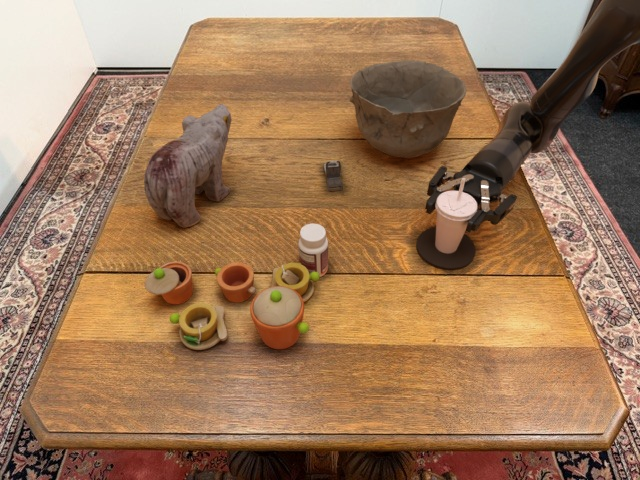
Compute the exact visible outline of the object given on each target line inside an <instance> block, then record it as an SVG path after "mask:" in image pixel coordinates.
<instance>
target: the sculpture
mask: <svg viewBox="0 0 640 480" xmlns="http://www.w3.org/2000/svg"><path fill="white" fill-rule="evenodd" d="M231 125H232V115H231V112H230V110H229V108H228V107H227V106H226V105H225V104H224V103H219V104H218V105H217V106H215V108H214V109H212V110H209V111H208V112H206V113H204V114H203V115H201V116H199V117H195V116H193V115H187V116H185V117H183V119H182V121H181V128H182V133H183V134H181V136H179V137H177V138H174V139H173V140H171V141H169V142H167V143H165V144H164V145H161V146H160V147H159V148H158V149H157V150H156V151H155V152H154V153H153V154H152V155H151V157H150V158H149V160H148V163H147V165H146V168H145V172H144V175H143V177H144V178H143V184H144V186H143V188H144V194H145V197H146V199H147V202H148V204H149V205H150V207H151V209H152V210H153V211H154V213H156V214H157V216H159V218H160V219H163V220H167V221H171V220H173V222H175V223H176V225H178V226H179V227H181V228H185V229H186V228H189V227H192V226H194V225H197V224H198V223H199V222H200V220H201V215H200V213H199V211H198V209H197V208H196V204H195V201H196V195H201V194H202V193H203V191H204V194H205V196H206V197H207V198H208V199H209V200H210V201H212V202H220V201H222V200H224V198H226V197H227V196H228V195H229V194H230V191H231V189H230V188H229V187H228V186H226V185H224V181H223V180H224V179H223V160H224V155H225V151H226V149H227V145H228V141H229V133H230V129H231Z"/></svg>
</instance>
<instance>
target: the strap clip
mask: <svg viewBox="0 0 640 480" xmlns="http://www.w3.org/2000/svg"><path fill="white" fill-rule="evenodd" d="M341 169H342V165H341V161H340V160H328V161H326V162H325V163H324V164H323V171H324V175H325V177H326V185H327V189H328V191H329V192H333V191H334V192H335V191H342V190H344V189H343V188H344V185H343V181H342V179H341V172H342V171H341Z"/></svg>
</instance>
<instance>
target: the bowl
mask: <svg viewBox="0 0 640 480" xmlns="http://www.w3.org/2000/svg"><path fill="white" fill-rule="evenodd" d="M349 86H350V90H351V93H352V96H351V97H350V98H349V102H350V103H352V105H353V106H354V112H355V120H356V124H357V126H358V130H359V131H360V134H361V135H362V136H363V138H364V139H365V141H366V142H368V144H369V145H370V146H371V147H373V148H374V149H376V150H378V151H380V152H382V153H384V154H386V155H389V156H391V157H396V158H406V159H407V158H408V159H409V158H417V157H420V156H423V155H426V154H429V153H432V152H433V151H435V149H437V148H438V147H439V146H440V145H441V144H442V143H443V142H444V141H445V140H446V139H447V137H448V135H449V132H450V130H451V128H452V125H453V121H454V119H455V117H456V114H457V112H458V110H459V108H460V107H461V106H462V102H463V100H464V98H465V97H466V96H467V95H466V94H467V88H466V84H465V82H464V80H462V79H461V78H460V77H459V76H457V74H455V73H453V72H451V71H450V70H448V69H446V68H444V67H443V66H440V65H438V64H436V63H431V62H427V61H423V60H411V59H410V60H409V59H408V60H406V59H405V60H400V61H391V62H390V61H389V62H382V63H375V64H374V63H373V64H372V65H368V66H366V67H363V68H362V69H360V70H357V72H356V73H354V75H353V76H352V77H351V78H350V81H349Z"/></svg>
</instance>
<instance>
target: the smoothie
mask: <svg viewBox="0 0 640 480" xmlns="http://www.w3.org/2000/svg"><path fill="white" fill-rule="evenodd" d="M465 180H466V179H465V178H462V180H461V184H460V188H459V191H446V192H444V193H442V194H440V195H439V196H438V198H437V201H436V204H435V205H436V209H435V210H436V222H435V224H436V225H435V227H436V241H435V246H436V248H437V249H438V250H439V251H441V252H443V253H453V252H455V251H456V250H457V247H458V245H459V243H460V241H461V239H462V237H463V235H464V233H465V234H466V228H467V224H468V222H469V220H470V219H471V218H472V217H473V216H474V214H475V213H476V212H477V202H476V201H475V199H474V198H473V197H472V196H470V195H469V194H467V193H464V192H463V188H464V184H465Z"/></svg>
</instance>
